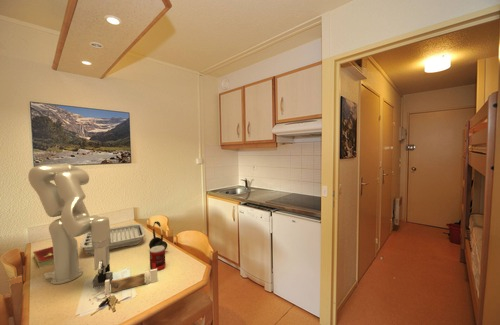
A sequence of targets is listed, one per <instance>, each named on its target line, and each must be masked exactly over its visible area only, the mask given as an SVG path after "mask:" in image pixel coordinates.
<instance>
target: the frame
mask: <svg viewBox="0 0 500 325" xmlns="http://www.w3.org/2000/svg"><path fill="white" fill-rule="evenodd" d="M144 273H145V285H149V284H152V283H157V282H158V279H159V278H158V271H157V269H152V270H151V269H150V270H149V269H147V270H145V271H144ZM104 290H105V291H104V292H105V296H107V295H110V294H111V284H110V279H108V280H105V286H104ZM109 293H110V294H109ZM106 294H107V295H106Z"/></svg>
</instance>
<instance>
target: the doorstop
mask: <svg viewBox="0 0 500 325" xmlns="http://www.w3.org/2000/svg"><path fill="white" fill-rule="evenodd" d="M113 277H114V276H113V271H109V272H106V279H107V280H108V279H110V282H111V281H113V280H114V278H113ZM112 279H113V280H112ZM110 285H111V283H110ZM100 286H101V287H105V282H102V283H98V273H97V274H95V276H94V277H93V278H92V288H93V289H95V288H99V287H100Z"/></svg>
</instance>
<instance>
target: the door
mask: <svg viewBox="0 0 500 325" xmlns="http://www.w3.org/2000/svg"><path fill="white" fill-rule="evenodd" d="M110 283H111V284H110V293H114V292H119V291H123V290H127V289H131V288H133V287H138V286H143V285H146V279H145V272H144V273H140V274H139V273H138V274H136V275H135V274H134V275H130V276H126V277H123V278H118V279H113V280H112V281H111V282H110Z"/></svg>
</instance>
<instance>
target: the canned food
mask: <svg viewBox="0 0 500 325" xmlns="http://www.w3.org/2000/svg"><path fill="white" fill-rule="evenodd" d="M149 268H150V270H152V269H157V272H159V271H162V270H164V269H165V268H166V250H165V247H164V246H155V247H152V248H151V249H150V248H149Z"/></svg>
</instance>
